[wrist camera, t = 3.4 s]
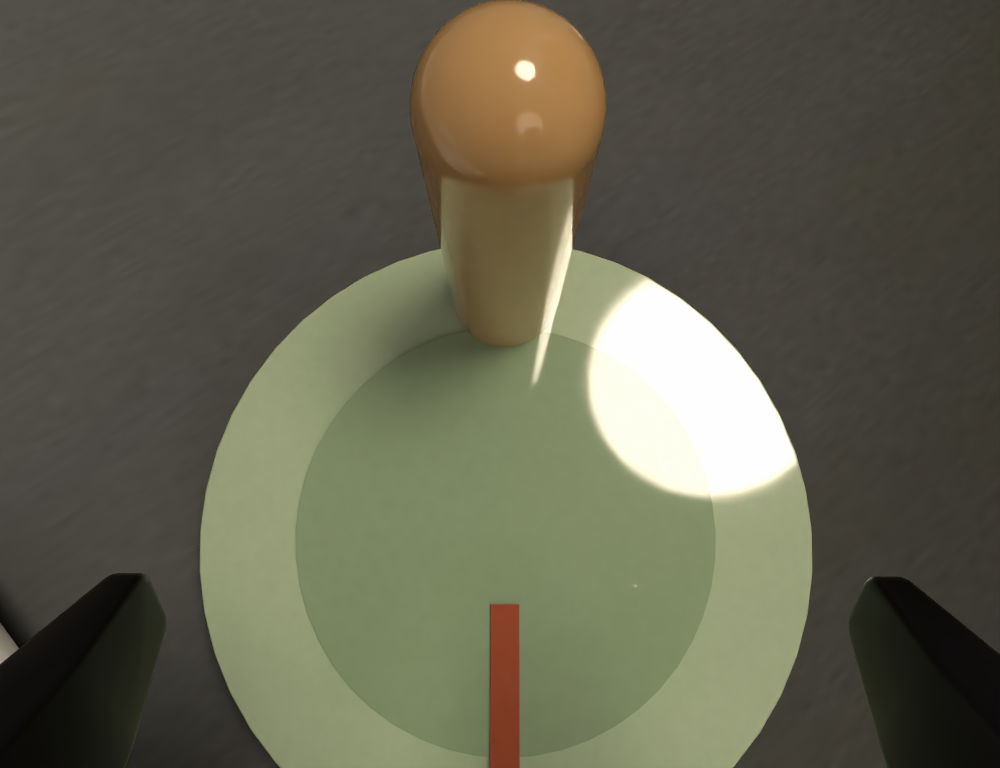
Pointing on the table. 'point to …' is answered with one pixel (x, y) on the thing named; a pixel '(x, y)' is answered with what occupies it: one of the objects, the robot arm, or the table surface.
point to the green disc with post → (506, 474)
